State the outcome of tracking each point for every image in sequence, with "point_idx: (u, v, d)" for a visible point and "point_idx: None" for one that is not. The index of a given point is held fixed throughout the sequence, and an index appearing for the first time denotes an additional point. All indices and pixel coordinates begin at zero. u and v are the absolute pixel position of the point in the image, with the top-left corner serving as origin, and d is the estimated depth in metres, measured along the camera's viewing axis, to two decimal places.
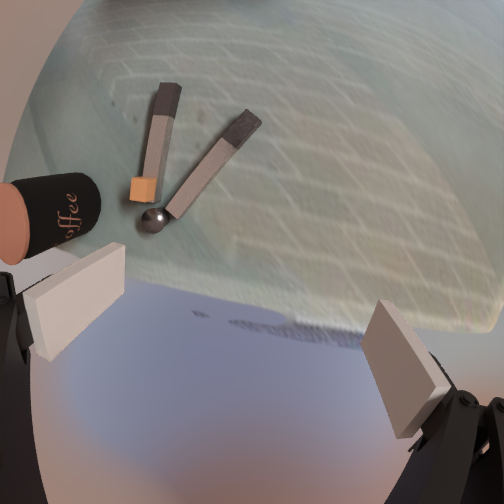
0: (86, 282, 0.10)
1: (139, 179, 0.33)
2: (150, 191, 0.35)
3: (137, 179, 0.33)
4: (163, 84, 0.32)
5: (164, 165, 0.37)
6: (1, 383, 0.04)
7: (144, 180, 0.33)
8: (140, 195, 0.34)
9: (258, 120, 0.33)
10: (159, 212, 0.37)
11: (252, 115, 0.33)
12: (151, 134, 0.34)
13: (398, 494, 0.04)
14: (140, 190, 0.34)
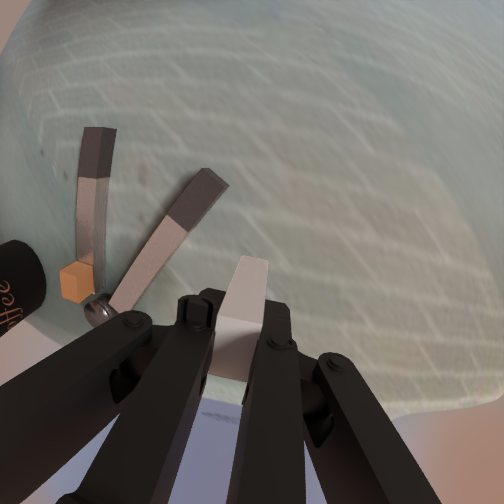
0: None
1: (67, 274, 0.23)
2: (85, 286, 0.24)
3: (65, 274, 0.23)
4: (88, 130, 0.21)
5: (102, 243, 0.27)
6: (175, 428, 0.04)
7: (72, 277, 0.22)
8: (72, 294, 0.23)
9: (220, 188, 0.22)
10: (102, 308, 0.26)
11: (211, 179, 0.22)
12: (79, 205, 0.24)
13: (236, 458, 0.05)
14: (71, 288, 0.23)
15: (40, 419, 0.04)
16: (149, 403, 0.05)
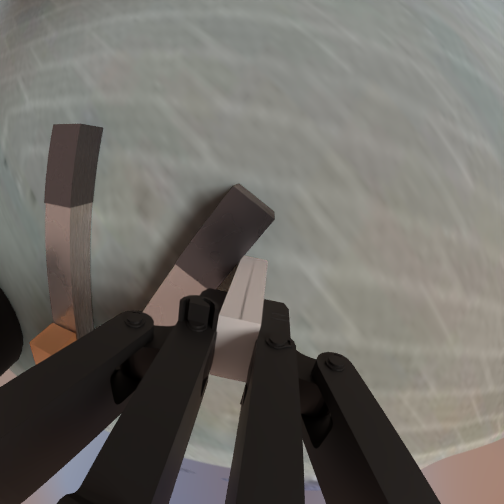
0: None
1: (40, 349, 0.13)
2: None
3: (37, 348, 0.13)
4: (58, 129, 0.12)
5: (87, 299, 0.18)
6: (177, 429, 0.04)
7: (48, 354, 0.13)
8: None
9: (267, 219, 0.13)
10: None
11: (250, 205, 0.13)
12: (48, 246, 0.15)
13: (235, 458, 0.05)
14: None
15: (41, 420, 0.04)
16: (150, 404, 0.05)
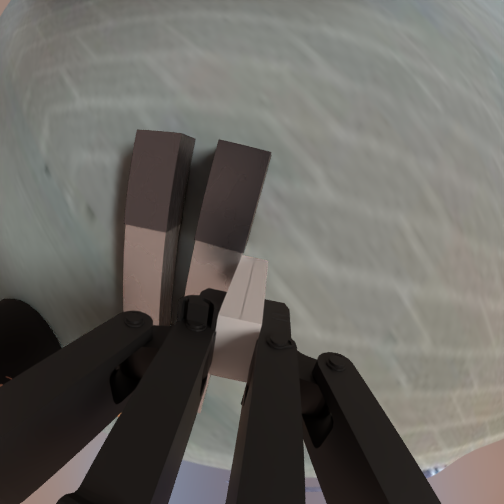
0: None
1: None
2: None
3: None
4: (146, 136, 0.12)
5: None
6: (176, 429, 0.04)
7: None
8: None
9: (264, 155, 0.12)
10: None
11: (242, 149, 0.12)
12: (128, 274, 0.14)
13: (235, 458, 0.05)
14: None
15: (41, 419, 0.04)
16: (150, 403, 0.05)
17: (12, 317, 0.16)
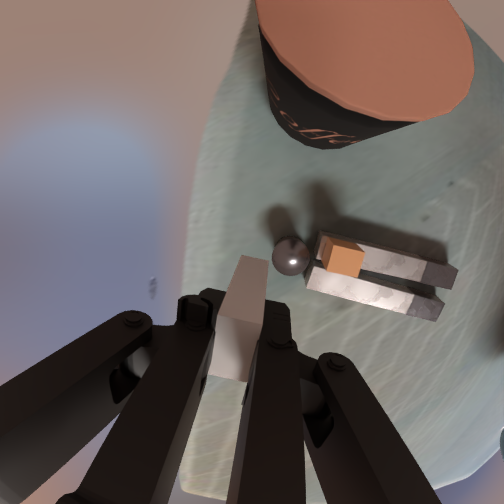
0: None
1: (360, 264, 0.23)
2: None
3: (360, 261, 0.23)
4: (455, 274, 0.25)
5: None
6: (175, 428, 0.04)
7: (357, 272, 0.23)
8: (337, 264, 0.23)
9: (435, 319, 0.27)
10: (302, 269, 0.26)
11: (439, 312, 0.27)
12: (406, 259, 0.26)
13: (236, 458, 0.05)
14: (344, 265, 0.23)
15: (40, 419, 0.04)
16: (149, 403, 0.05)
17: None
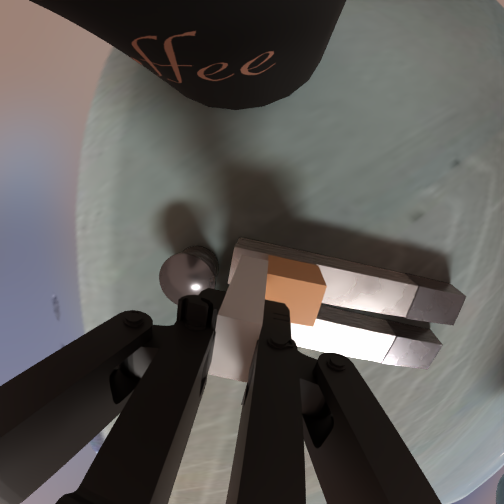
0: None
1: (317, 305, 0.14)
2: None
3: (318, 301, 0.13)
4: (460, 302, 0.16)
5: None
6: (175, 428, 0.04)
7: (312, 319, 0.14)
8: None
9: (427, 366, 0.18)
10: None
11: (433, 356, 0.17)
12: (382, 283, 0.16)
13: (236, 458, 0.05)
14: (289, 307, 0.14)
15: (40, 419, 0.04)
16: (149, 403, 0.05)
17: (320, 57, 0.12)
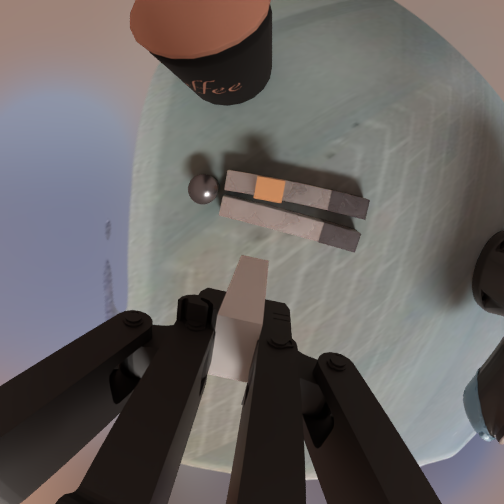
0: None
1: (282, 191, 0.29)
2: None
3: (282, 189, 0.29)
4: (366, 204, 0.31)
5: None
6: (175, 429, 0.04)
7: (280, 199, 0.29)
8: (262, 192, 0.29)
9: (353, 250, 0.33)
10: (213, 198, 0.32)
11: (356, 242, 0.33)
12: (308, 188, 0.32)
13: (236, 458, 0.05)
14: (268, 192, 0.29)
15: (40, 419, 0.04)
16: (149, 403, 0.05)
17: (267, 78, 0.27)
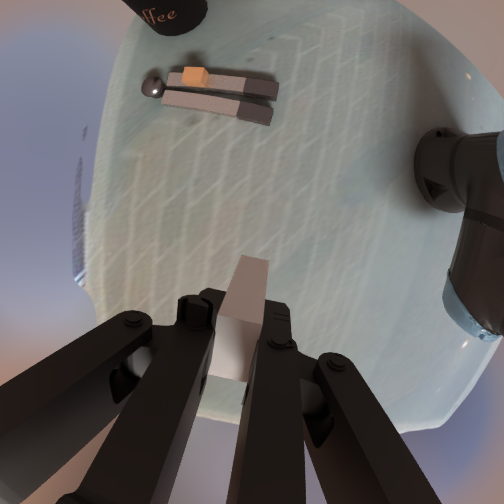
0: None
1: (201, 74, 0.33)
2: (192, 83, 0.35)
3: (201, 72, 0.33)
4: (276, 85, 0.35)
5: (200, 90, 0.38)
6: (175, 428, 0.04)
7: (200, 79, 0.33)
8: (187, 76, 0.33)
9: (267, 121, 0.37)
10: (157, 91, 0.36)
11: (269, 115, 0.37)
12: (227, 77, 0.36)
13: (236, 458, 0.05)
14: (191, 76, 0.33)
15: (40, 419, 0.04)
16: (149, 403, 0.05)
17: (200, 13, 0.32)
